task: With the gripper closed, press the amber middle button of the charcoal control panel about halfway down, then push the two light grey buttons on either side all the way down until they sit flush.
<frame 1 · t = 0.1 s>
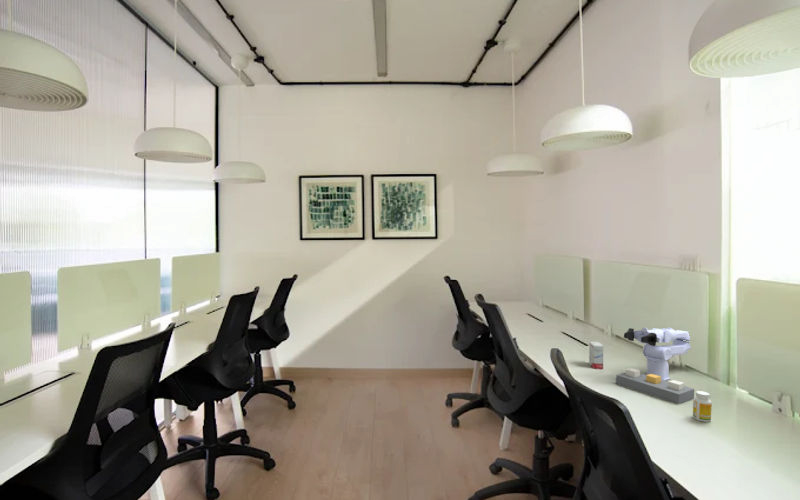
hand: (633, 337, 182), 22 cm above the table, tool horizontal, fingers open, 7 cm apart
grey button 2: (676, 386, 169), point 5 cm above the table, slide at 0.0 cm
supplement bottle: (701, 419, 149), on the table
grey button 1: (632, 373, 184), point 5 cm above the table, slide at 0.0 cm
ink box: (595, 366, 210), on the table
panel: (653, 390, 177), on the table
amber button: (653, 379, 176), point 5 cm above the table, slide at 0.0 cm
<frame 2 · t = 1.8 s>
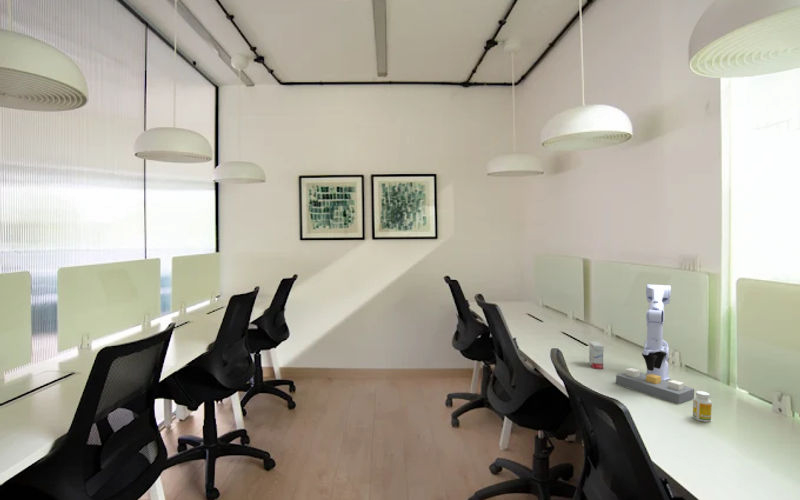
hand: (653, 369, 176), 9 cm above the table, tool pointing down, fingers open, 5 cm apart
nothing on the table moved.
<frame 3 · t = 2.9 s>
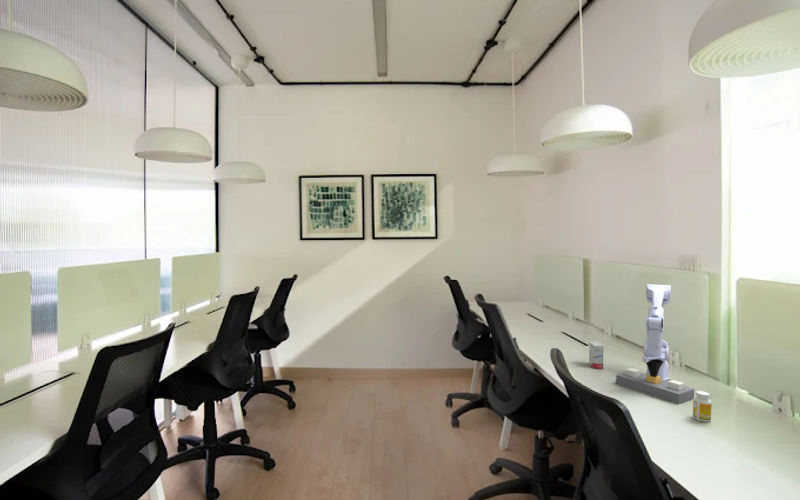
hand: (653, 376, 176), 6 cm above the table, tool pointing down, fingers closed, pressing on amber button
amber button: (653, 380, 176), point 5 cm above the table, slide at 0.2 cm, touching gripper
everything else where it was.
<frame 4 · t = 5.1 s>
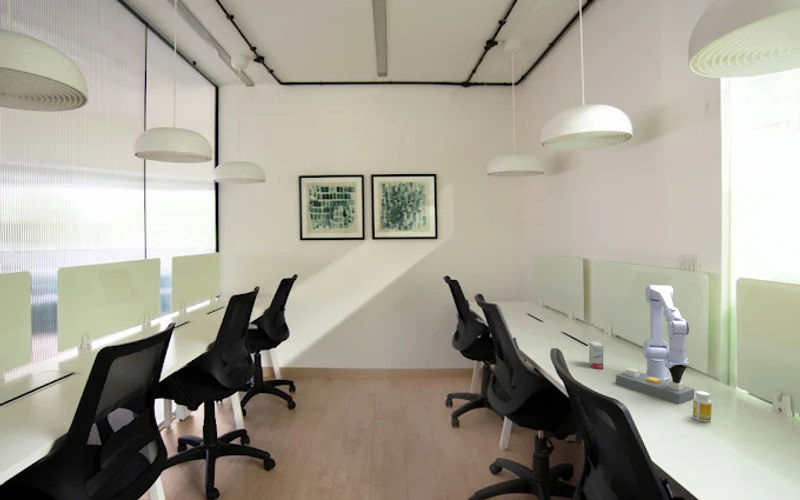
hand: (676, 382, 168), 6 cm above the table, tool pointing down, fingers closed, pressing on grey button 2
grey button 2: (676, 386, 169), point 5 cm above the table, slide at 0.0 cm, touching gripper
amber button: (653, 382, 176), point 3 cm above the table, slide at 1.3 cm
everything else where it was.
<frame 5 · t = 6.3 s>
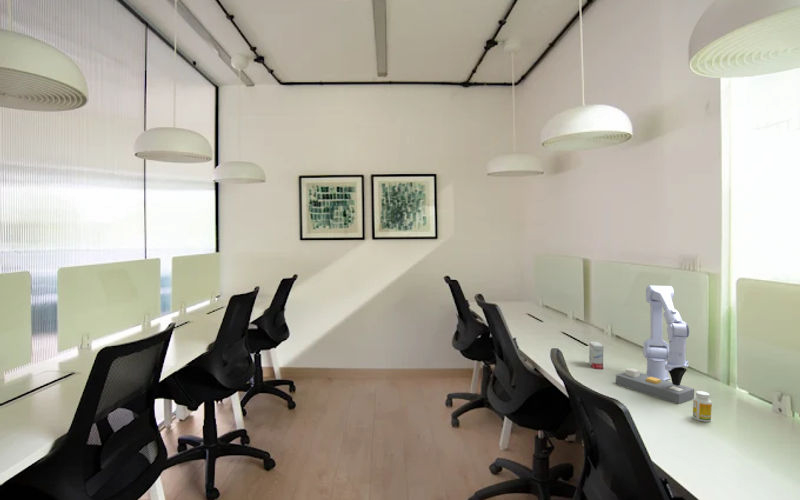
hand: (676, 384, 169), 5 cm above the table, tool pointing down, fingers closed
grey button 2: (676, 392, 169), point 2 cm above the table, slide at 2.6 cm
everything else where it was.
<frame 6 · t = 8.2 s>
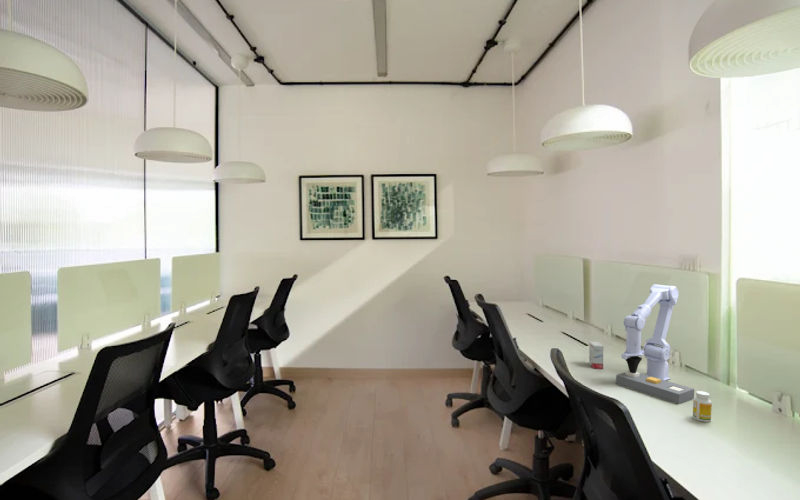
hand: (632, 372, 184), 5 cm above the table, tool pointing down, fingers closed, pressing on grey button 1
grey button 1: (632, 376, 184), point 4 cm above the table, slide at 1.2 cm, touching gripper
everything else where it was.
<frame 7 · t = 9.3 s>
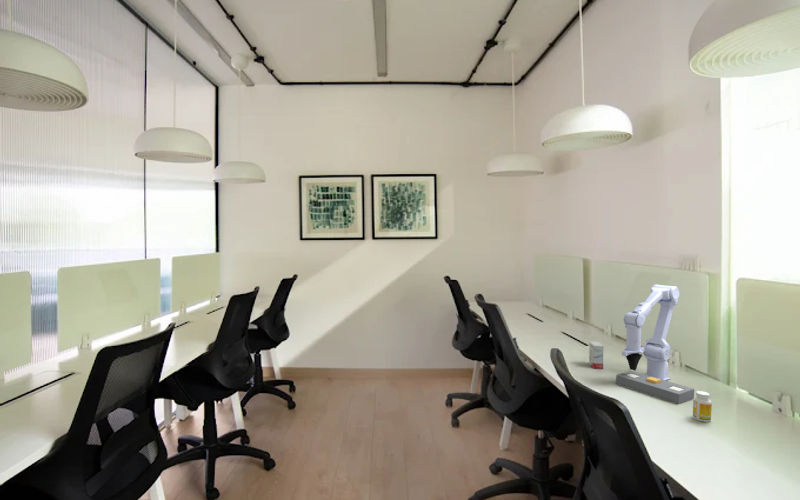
hand: (632, 369, 184), 7 cm above the table, tool pointing down, fingers closed
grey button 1: (632, 379, 184), point 2 cm above the table, slide at 2.6 cm
everything else where it was.
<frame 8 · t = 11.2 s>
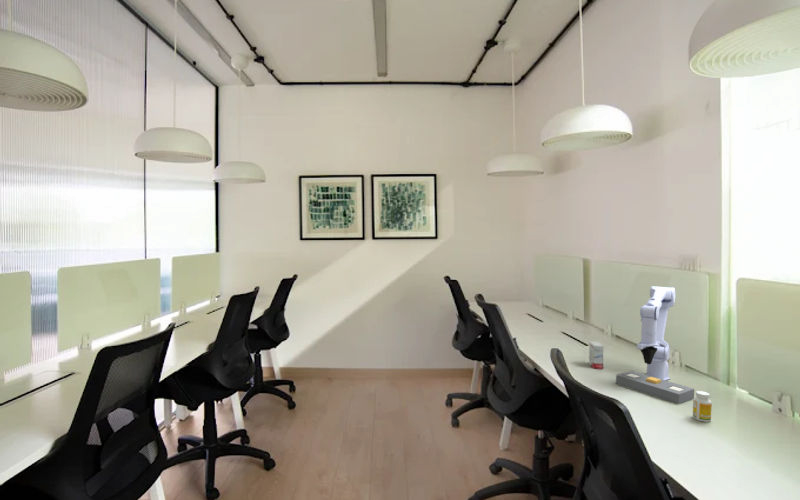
hand: (647, 363, 181), 10 cm above the table, tool pointing down, fingers closed
nothing on the table moved.
at the end: amber button slide at 1.3 cm; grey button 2 slide at 2.6 cm; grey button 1 slide at 2.6 cm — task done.
